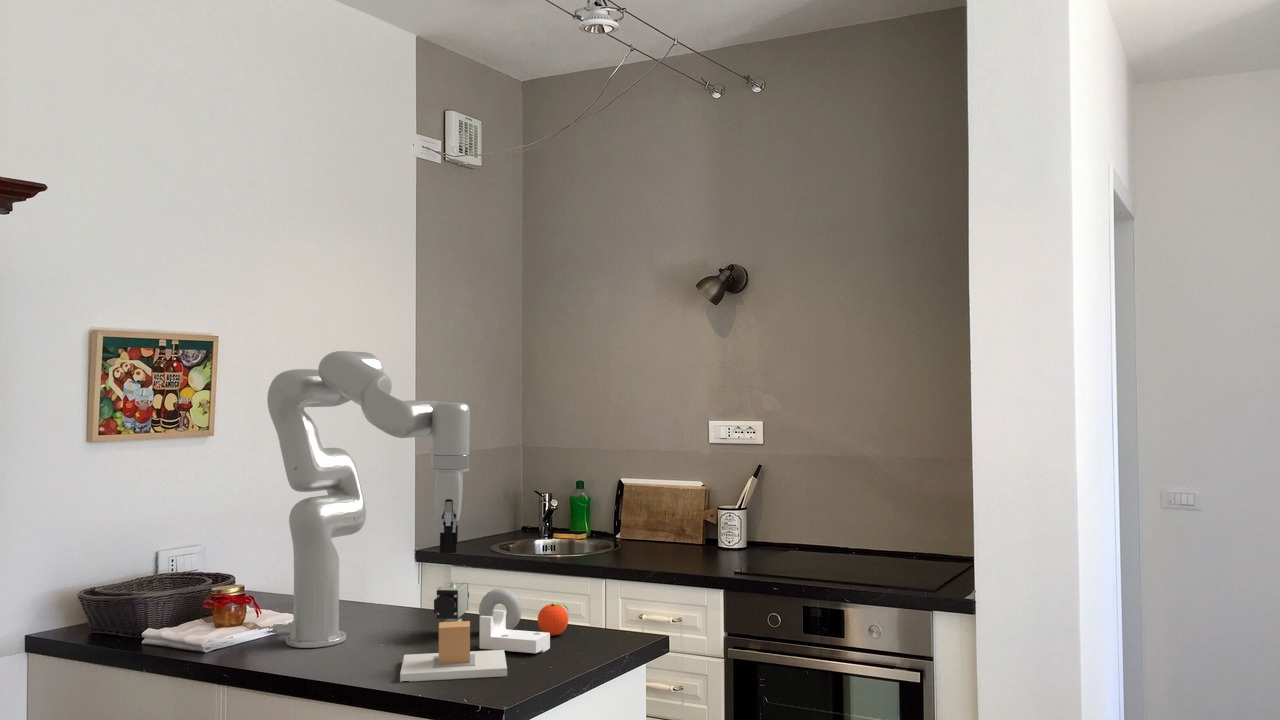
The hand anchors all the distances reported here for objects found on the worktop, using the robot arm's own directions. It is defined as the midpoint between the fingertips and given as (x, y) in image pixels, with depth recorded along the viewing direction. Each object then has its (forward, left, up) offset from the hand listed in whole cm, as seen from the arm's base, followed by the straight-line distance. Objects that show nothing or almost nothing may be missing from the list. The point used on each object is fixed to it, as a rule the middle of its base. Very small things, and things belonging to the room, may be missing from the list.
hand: (448, 548), depth 201 cm
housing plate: (+1, -4, -23) cm, 23 cm away
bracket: (+14, +9, -24) cm, 29 cm away
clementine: (+23, +20, -23) cm, 39 cm away
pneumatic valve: (0, +24, -23) cm, 34 cm away
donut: (+11, +24, -23) cm, 35 cm away
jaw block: (+1, -4, -21) cm, 22 cm away
